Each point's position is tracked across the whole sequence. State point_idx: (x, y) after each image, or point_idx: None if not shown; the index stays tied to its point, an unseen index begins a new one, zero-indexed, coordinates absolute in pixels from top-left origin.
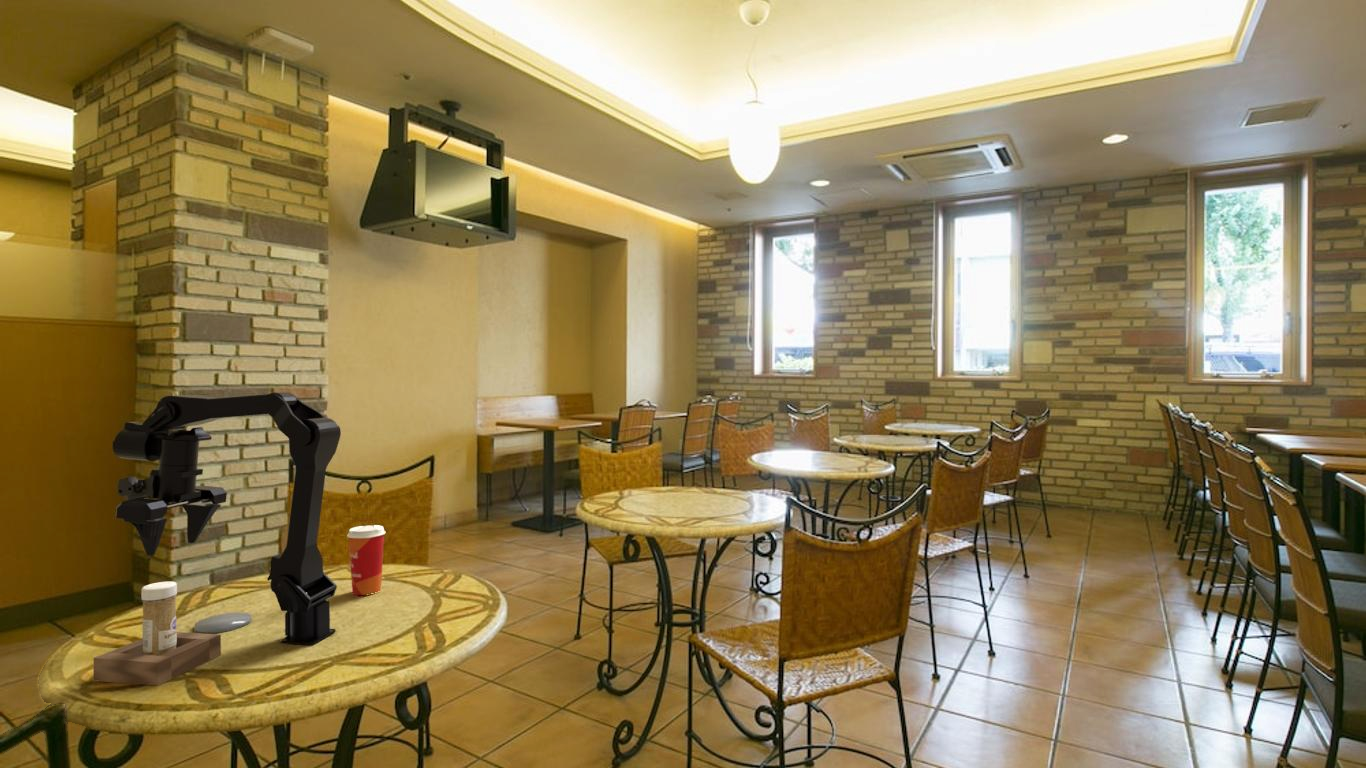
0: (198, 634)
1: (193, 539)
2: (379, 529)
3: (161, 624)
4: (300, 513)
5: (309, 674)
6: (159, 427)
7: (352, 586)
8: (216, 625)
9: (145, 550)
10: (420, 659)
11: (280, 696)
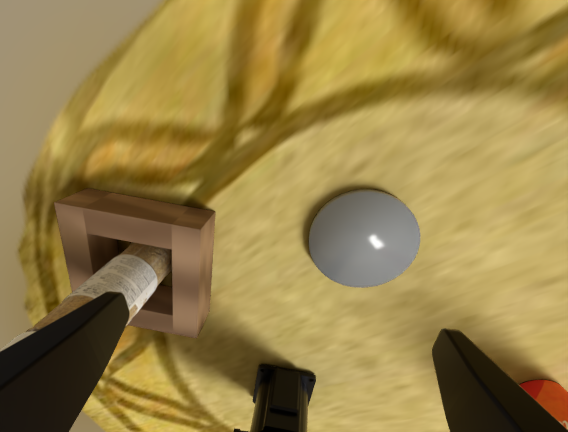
0: (192, 305)
1: (438, 377)
2: None
3: None
4: None
5: (170, 417)
6: None
7: (535, 398)
8: (330, 246)
9: (75, 312)
10: None
11: (118, 411)
